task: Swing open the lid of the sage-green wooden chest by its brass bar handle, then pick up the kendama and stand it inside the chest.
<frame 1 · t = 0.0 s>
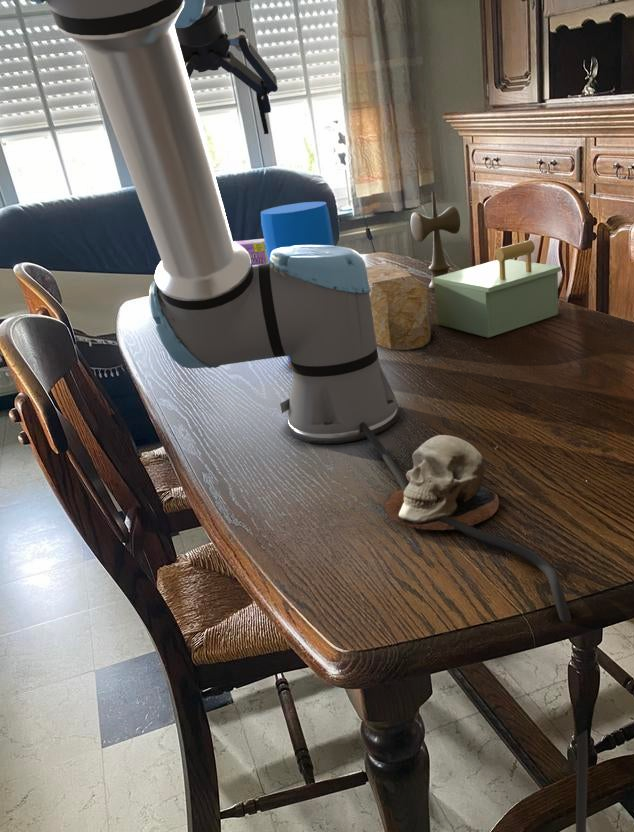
hand: (226, 134, 128), 36 cm above the table, tool tilted 35°, fingers open, 13 cm apart
chest: (496, 319, 138), on the table
kendama: (441, 289, 164), on the table
box: (258, 291, 185), on the table
chest lid: (495, 259, 133), point 11 cm above the table, hinge at 0.0°
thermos: (319, 362, 129), on the table
bread: (387, 325, 144), on the table
skull: (442, 508, 79), on the table
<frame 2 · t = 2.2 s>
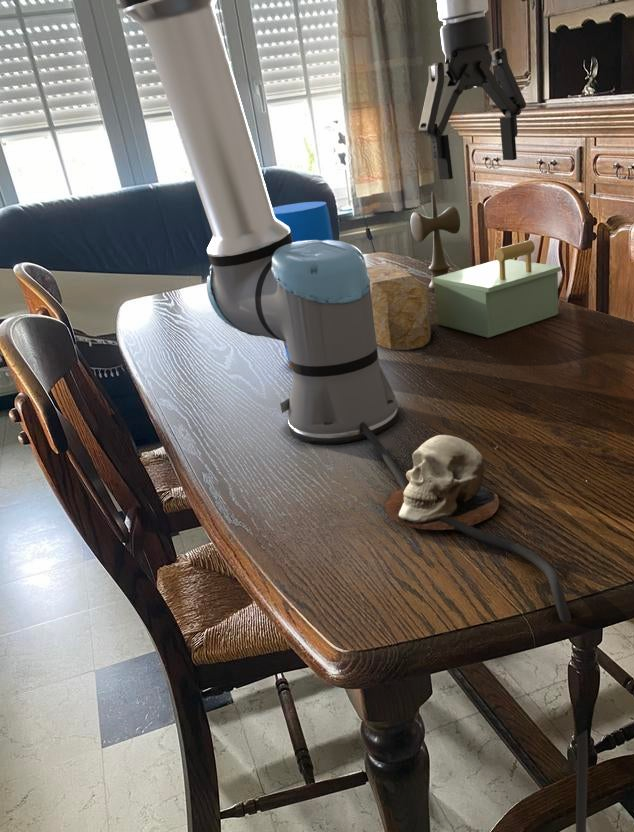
hand: (478, 169, 125), 26 cm above the table, tool pointing down, fingers open, 13 cm apart
nothing on the table moved.
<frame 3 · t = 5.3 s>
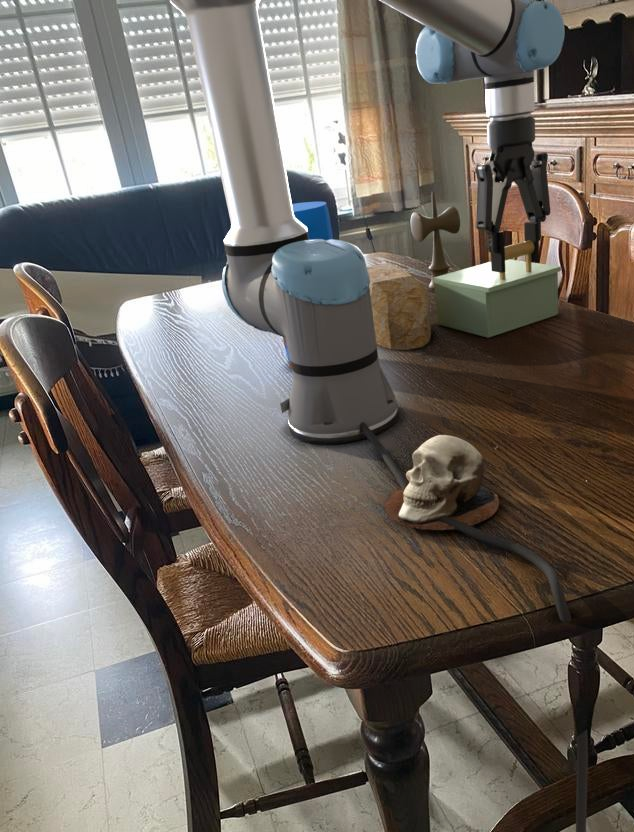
hand: (515, 266, 129), 10 cm above the table, tool pointing down, fingers closed on chest lid, 7 cm apart
chest lid: (495, 259, 133), point 11 cm above the table, hinge at 0.0°, touching gripper
everything else where it was.
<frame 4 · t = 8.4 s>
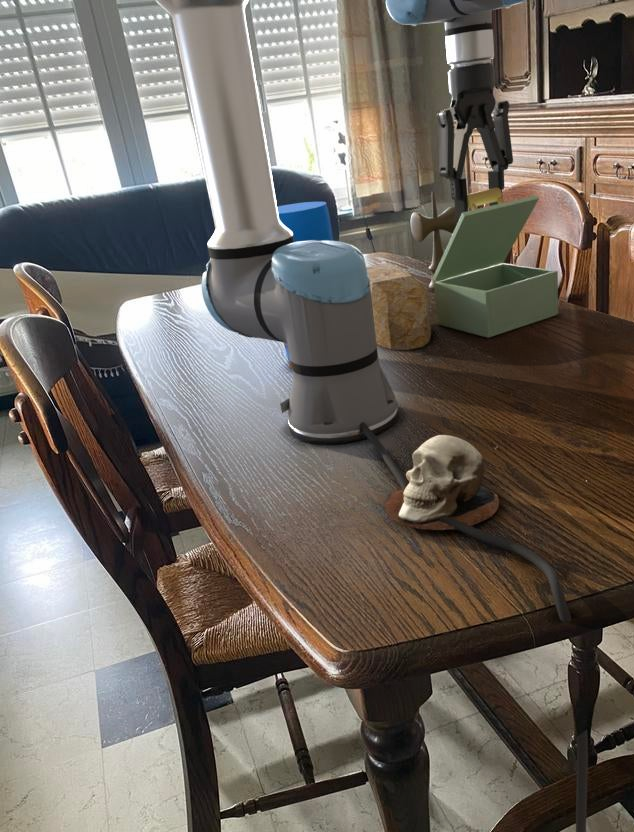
hand: (479, 214, 132), 18 cm above the table, tool pointing down, fingers closed on chest lid, 7 cm apart
chest lid: (477, 228, 134), point 16 cm above the table, hinge at 49.6°, touching gripper
everything else where it was.
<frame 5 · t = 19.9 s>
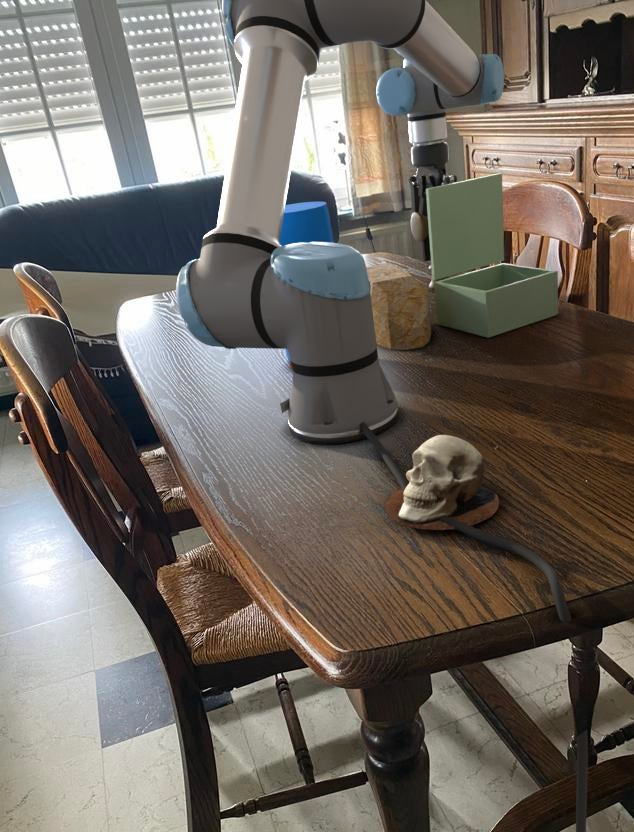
hand: (438, 261, 161), 6 cm above the table, tool pointing down, fingers closed on kendama, 6 cm apart
kendama: (441, 289, 164), on the table, touching gripper
chest lid: (458, 225, 138), point 16 cm above the table, hinge at 88.6°
everything else where it was.
when the fingers open (7 cm above the table, at t = 32.3 s): kendama stays where it is, resting on chest.
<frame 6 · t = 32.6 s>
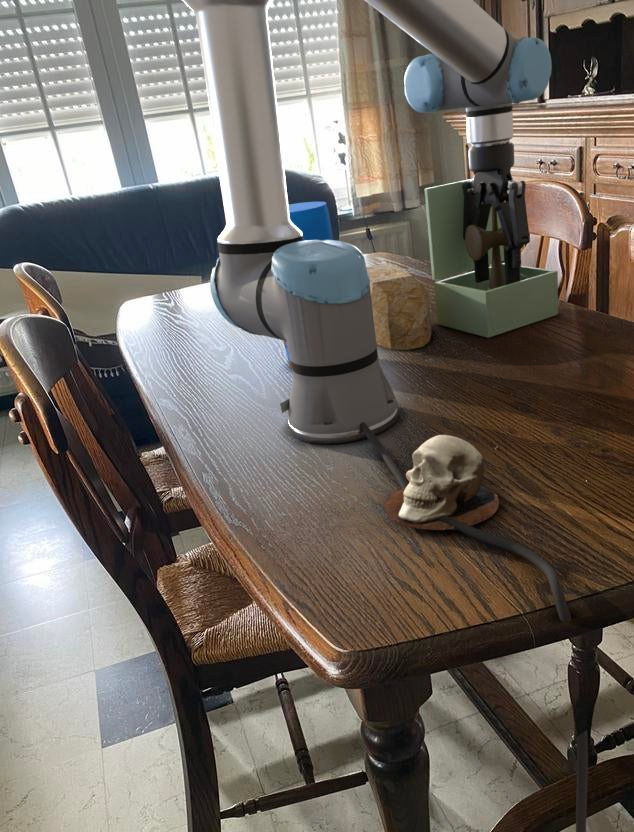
hand: (497, 283, 134), 7 cm above the table, tool pointing down, fingers open, 8 cm apart
kendama: (499, 316, 137), point 1 cm above the table, touching chest
chest lid: (457, 225, 138), point 16 cm above the table, hinge at 90.1°, touching gripper
everything else where it was.
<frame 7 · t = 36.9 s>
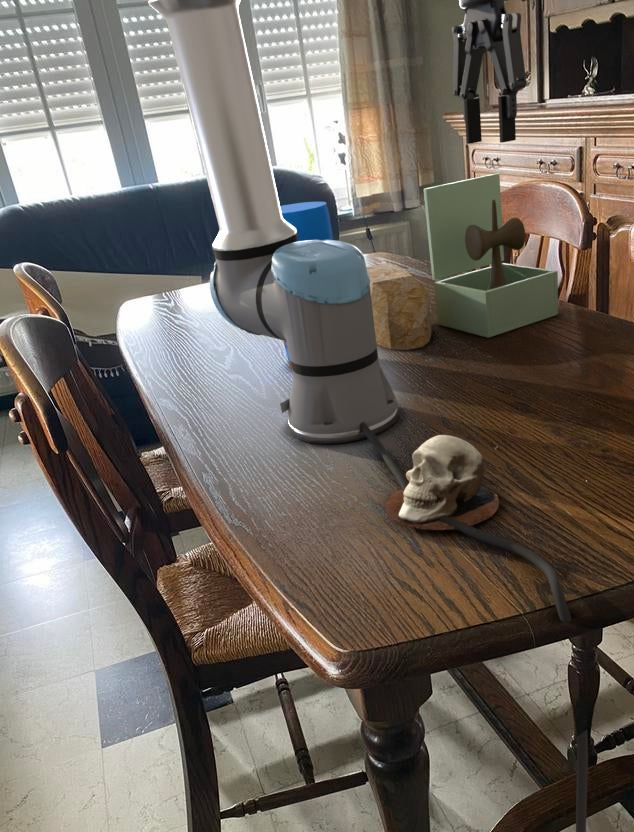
hand: (490, 141, 123), 30 cm above the table, tool pointing down, fingers open, 8 cm apart
chest lid: (457, 226, 138), point 16 cm above the table, hinge at 91.2°
everything else where it was.
at the end: chest lid at +91° (first picture: +0°); kendama inside the target area in the chest (0.6 cm from its centre), point 0.6 cm above the chest's base; kendama tilted 0° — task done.
